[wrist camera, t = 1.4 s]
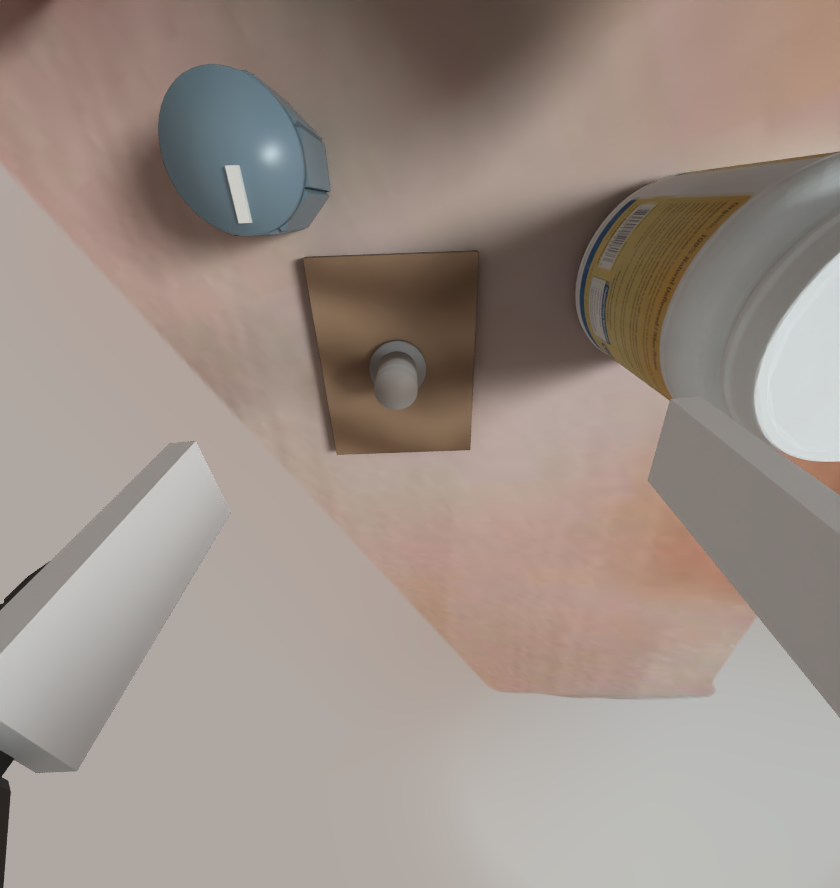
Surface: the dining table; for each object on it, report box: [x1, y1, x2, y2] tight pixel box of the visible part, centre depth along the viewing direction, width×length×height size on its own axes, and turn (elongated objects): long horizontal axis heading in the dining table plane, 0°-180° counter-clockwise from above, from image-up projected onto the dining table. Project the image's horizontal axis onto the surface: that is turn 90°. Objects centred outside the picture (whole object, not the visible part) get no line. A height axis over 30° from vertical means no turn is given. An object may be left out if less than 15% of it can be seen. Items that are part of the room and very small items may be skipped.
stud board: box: [303, 251, 479, 455], centre depth 29 cm, size 16×12×6 cm
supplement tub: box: [575, 152, 840, 462], centre depth 21 cm, size 12×12×17 cm
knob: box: [158, 64, 331, 236], centre depth 21 cm, size 7×7×7 cm
